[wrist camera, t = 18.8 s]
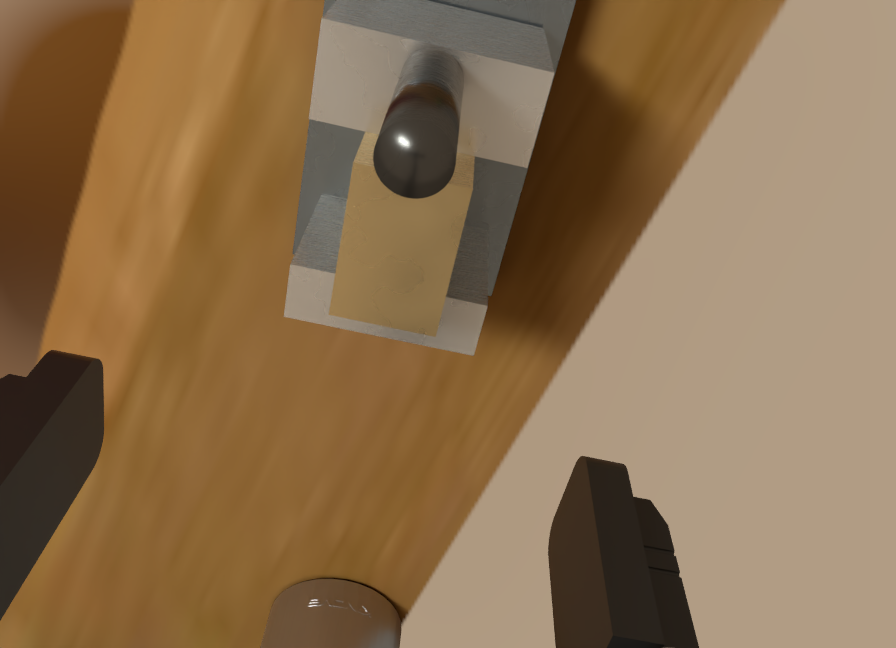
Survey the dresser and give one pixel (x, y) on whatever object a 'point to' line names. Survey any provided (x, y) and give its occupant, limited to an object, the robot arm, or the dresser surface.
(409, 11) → the free jaw
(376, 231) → the brass block
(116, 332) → the dresser surface
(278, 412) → the dresser surface
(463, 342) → the vise
